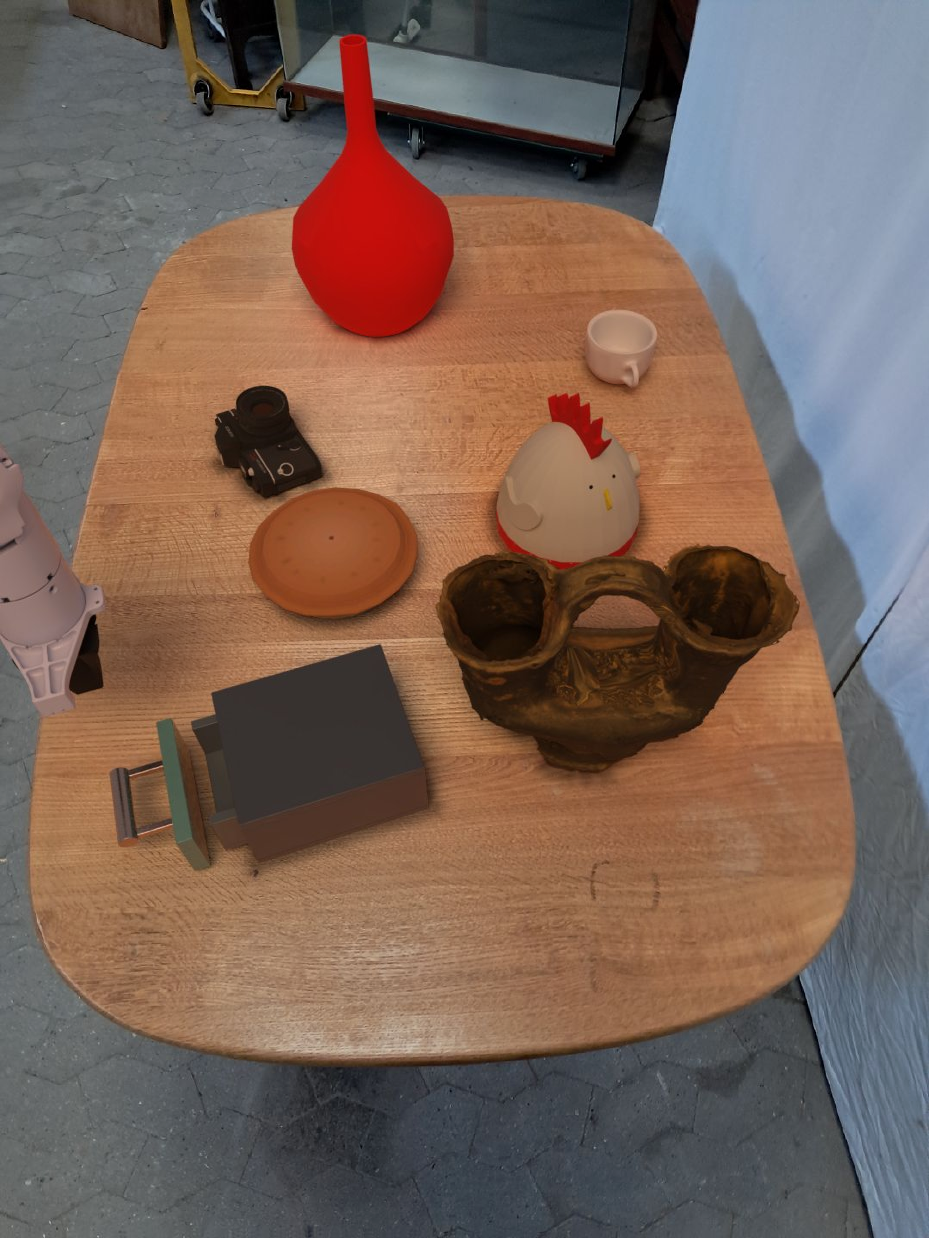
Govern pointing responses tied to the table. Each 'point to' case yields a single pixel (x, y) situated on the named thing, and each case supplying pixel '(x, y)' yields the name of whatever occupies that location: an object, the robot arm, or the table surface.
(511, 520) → the kitchen timer
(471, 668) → the pottery vessel
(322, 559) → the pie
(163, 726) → the drawer
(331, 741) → the dark grey storage box
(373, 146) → the vase
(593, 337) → the teacup
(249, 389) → the film camera
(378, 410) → the table surface
